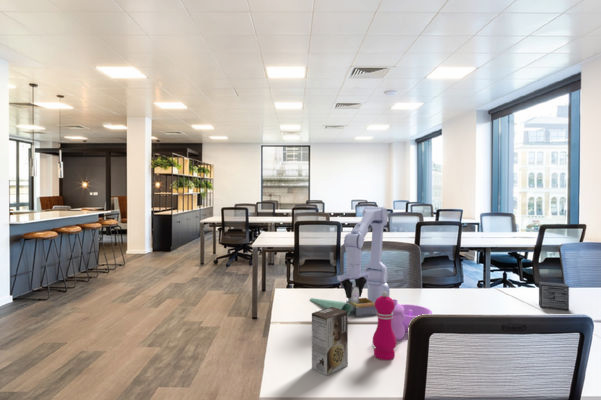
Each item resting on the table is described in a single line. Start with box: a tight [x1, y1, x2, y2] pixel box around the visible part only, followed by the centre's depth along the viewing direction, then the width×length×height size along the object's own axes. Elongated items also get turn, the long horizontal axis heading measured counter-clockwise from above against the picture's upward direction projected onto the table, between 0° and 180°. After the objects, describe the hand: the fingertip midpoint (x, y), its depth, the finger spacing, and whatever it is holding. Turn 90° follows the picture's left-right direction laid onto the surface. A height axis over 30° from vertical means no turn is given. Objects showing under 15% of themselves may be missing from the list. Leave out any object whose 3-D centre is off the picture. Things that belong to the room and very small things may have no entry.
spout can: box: [347, 284, 360, 303], centre depth 153 cm, size 4×4×8 cm
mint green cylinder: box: [309, 297, 351, 316], centre depth 168 cm, size 5×6×27 cm
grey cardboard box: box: [311, 307, 349, 376], centre depth 110 cm, size 9×6×16 cm
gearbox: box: [345, 297, 377, 318], centre depth 161 cm, size 12×10×5 cm
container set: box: [391, 298, 433, 341], centre depth 140 cm, size 25×15×13 cm, turn 140°
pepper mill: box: [372, 291, 397, 361], centre depth 118 cm, size 7×7×20 cm
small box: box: [538, 281, 570, 311], centre depth 168 cm, size 11×6×10 cm, turn 65°
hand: (353, 297), depth 153 cm, fingers closed on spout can, 4 cm apart
